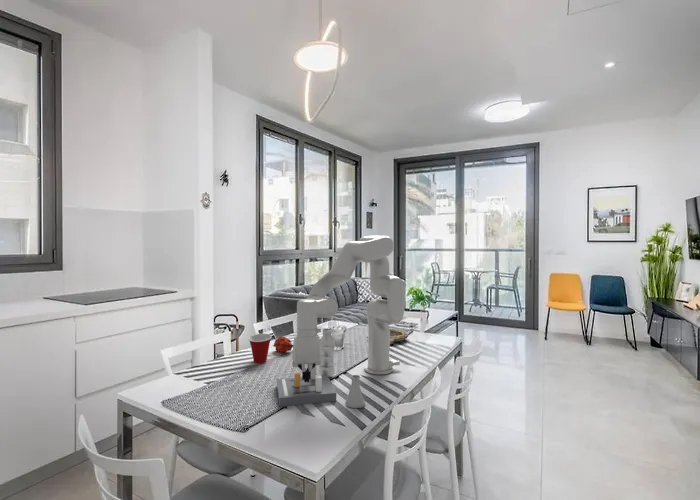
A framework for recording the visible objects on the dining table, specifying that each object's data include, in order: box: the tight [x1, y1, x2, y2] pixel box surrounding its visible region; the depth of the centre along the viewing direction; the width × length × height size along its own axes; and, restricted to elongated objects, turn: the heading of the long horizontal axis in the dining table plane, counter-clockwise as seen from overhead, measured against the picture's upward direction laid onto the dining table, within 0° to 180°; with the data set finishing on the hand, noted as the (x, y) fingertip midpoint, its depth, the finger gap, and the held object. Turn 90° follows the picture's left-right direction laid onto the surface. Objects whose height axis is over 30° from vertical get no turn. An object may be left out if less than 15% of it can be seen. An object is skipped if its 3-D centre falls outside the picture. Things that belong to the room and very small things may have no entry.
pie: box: [366, 328, 409, 345], centre depth 217 cm, size 28×27×5 cm
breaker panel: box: [276, 366, 337, 408], centre depth 140 cm, size 20×18×8 cm
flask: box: [344, 374, 366, 409], centre depth 131 cm, size 7×7×10 cm
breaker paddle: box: [293, 370, 301, 387], centre depth 139 cm, size 2×2×5 cm
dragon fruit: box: [272, 336, 293, 355], centre depth 191 cm, size 8×8×12 cm
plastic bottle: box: [318, 328, 336, 379], centre depth 157 cm, size 6×7×20 cm
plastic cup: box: [248, 333, 273, 364], centre depth 175 cm, size 11×11×12 cm
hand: (306, 381), depth 140 cm, fingers closed
